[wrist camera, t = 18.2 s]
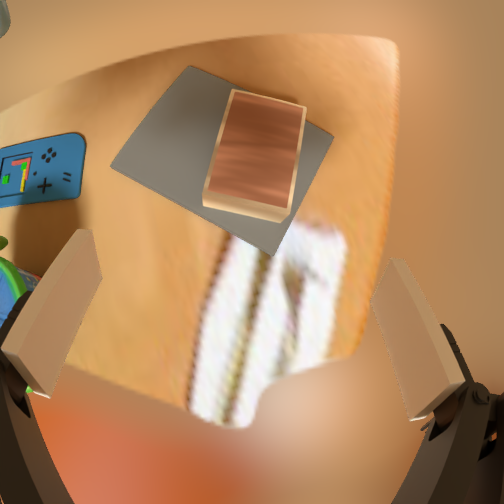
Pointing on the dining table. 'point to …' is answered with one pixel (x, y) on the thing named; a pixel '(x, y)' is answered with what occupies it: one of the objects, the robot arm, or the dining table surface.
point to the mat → (205, 155)
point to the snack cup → (13, 285)
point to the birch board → (256, 157)
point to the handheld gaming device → (42, 170)
